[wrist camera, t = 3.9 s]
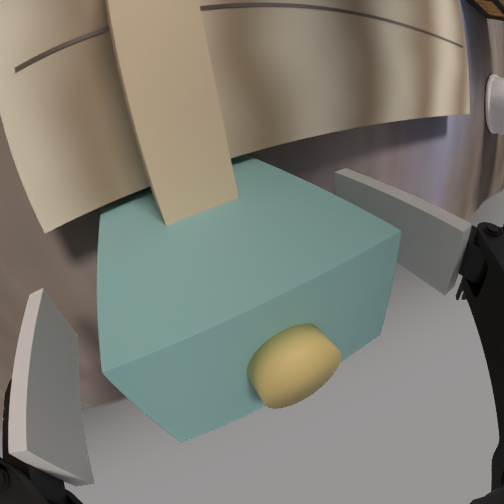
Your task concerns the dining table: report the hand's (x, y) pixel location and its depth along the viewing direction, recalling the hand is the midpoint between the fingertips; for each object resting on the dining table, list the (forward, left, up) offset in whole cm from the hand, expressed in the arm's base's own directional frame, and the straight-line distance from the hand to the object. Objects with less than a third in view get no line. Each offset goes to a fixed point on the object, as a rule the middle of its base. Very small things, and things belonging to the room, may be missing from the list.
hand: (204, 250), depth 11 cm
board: (0, +13, -4) cm, 14 cm away
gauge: (-4, +3, -4) cm, 7 cm away
